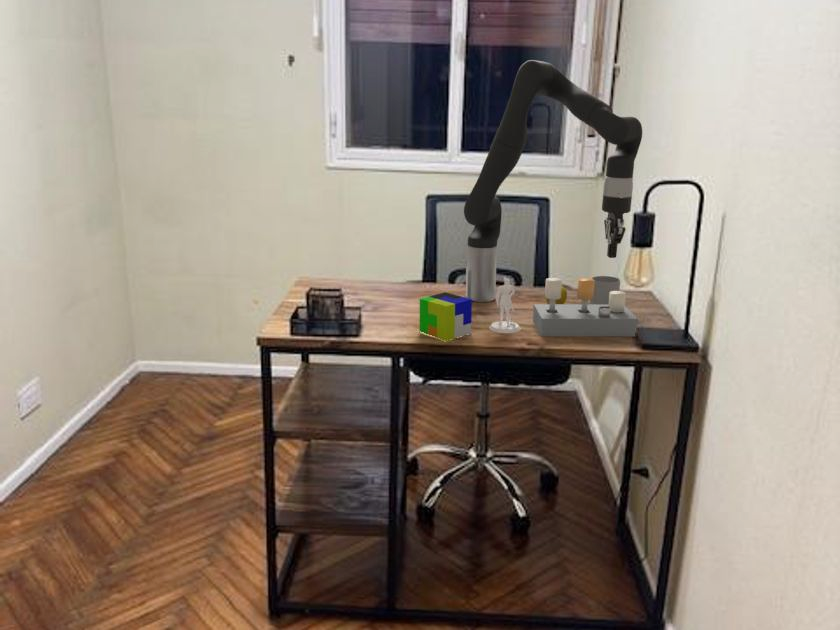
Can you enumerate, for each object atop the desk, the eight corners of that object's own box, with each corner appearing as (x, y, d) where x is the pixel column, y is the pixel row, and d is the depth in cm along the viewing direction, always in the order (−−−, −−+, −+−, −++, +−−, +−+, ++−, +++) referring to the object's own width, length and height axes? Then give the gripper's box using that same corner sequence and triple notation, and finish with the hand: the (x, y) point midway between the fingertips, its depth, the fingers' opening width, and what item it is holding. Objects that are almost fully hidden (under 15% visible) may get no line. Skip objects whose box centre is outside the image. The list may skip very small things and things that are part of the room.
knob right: (609, 326, 210) (611, 294, 208) (605, 321, 214) (607, 290, 212) (625, 326, 210) (627, 295, 208) (620, 321, 214) (623, 290, 212)
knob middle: (577, 313, 209) (580, 281, 206) (574, 309, 213) (576, 277, 211) (593, 313, 209) (596, 281, 206) (590, 309, 213) (592, 278, 211)
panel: (540, 336, 206) (541, 318, 204) (532, 320, 219) (533, 304, 218) (635, 336, 206) (637, 318, 205) (622, 321, 219) (623, 304, 218)
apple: (546, 311, 229) (548, 285, 226) (543, 305, 235) (544, 280, 232) (568, 311, 229) (569, 285, 226) (563, 305, 235) (565, 280, 232)
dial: (599, 317, 205) (600, 308, 205) (596, 314, 208) (597, 305, 208) (611, 317, 205) (612, 308, 205) (608, 314, 208) (609, 305, 208)
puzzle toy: (471, 334, 207) (472, 299, 204) (445, 342, 200) (446, 306, 198) (444, 326, 214) (445, 292, 211) (419, 333, 207) (419, 298, 204)
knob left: (545, 313, 209) (547, 281, 206) (542, 309, 213) (544, 277, 210) (561, 313, 209) (563, 281, 206) (558, 309, 213) (560, 277, 210)
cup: (620, 315, 225) (623, 282, 222) (592, 315, 225) (595, 282, 222) (613, 307, 233) (616, 276, 230) (586, 307, 233) (589, 275, 230)
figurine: (488, 332, 209) (490, 279, 204) (489, 322, 217) (491, 272, 213) (520, 334, 207) (523, 281, 203) (520, 324, 216) (523, 273, 211)
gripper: (597, 190, 208) (592, 251, 213) (610, 197, 196) (604, 262, 201) (624, 190, 208) (618, 252, 214) (638, 197, 196) (632, 263, 201)
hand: (611, 257), depth 207 cm, fingers closed
